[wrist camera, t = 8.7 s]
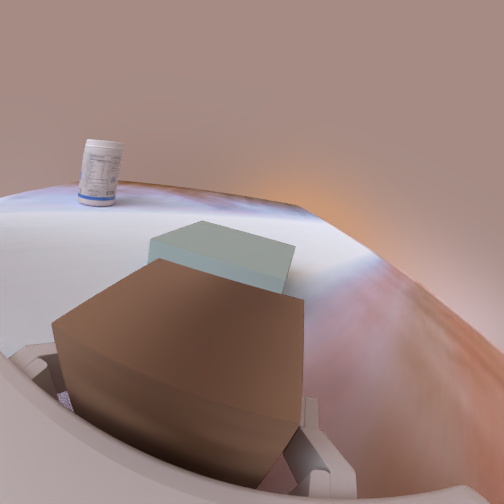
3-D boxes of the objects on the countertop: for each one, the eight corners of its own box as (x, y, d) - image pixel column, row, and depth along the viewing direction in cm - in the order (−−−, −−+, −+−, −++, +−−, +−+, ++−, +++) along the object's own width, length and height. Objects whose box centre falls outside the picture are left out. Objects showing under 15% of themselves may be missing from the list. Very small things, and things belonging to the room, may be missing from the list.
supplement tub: (80, 198, 57) (88, 139, 53) (114, 200, 62) (124, 143, 58) (74, 205, 49) (84, 138, 45) (114, 209, 54) (125, 142, 50)
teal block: (146, 282, 28) (150, 239, 27) (196, 252, 41) (202, 220, 40) (271, 326, 26) (285, 279, 24) (286, 279, 39) (295, 246, 38)
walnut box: (101, 474, 8) (51, 323, 5) (151, 401, 13) (159, 257, 11) (226, 524, 7) (300, 422, 4) (250, 435, 13) (303, 300, 10)
